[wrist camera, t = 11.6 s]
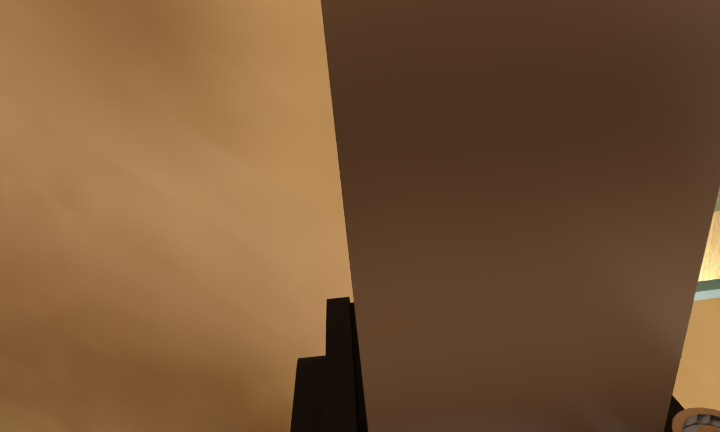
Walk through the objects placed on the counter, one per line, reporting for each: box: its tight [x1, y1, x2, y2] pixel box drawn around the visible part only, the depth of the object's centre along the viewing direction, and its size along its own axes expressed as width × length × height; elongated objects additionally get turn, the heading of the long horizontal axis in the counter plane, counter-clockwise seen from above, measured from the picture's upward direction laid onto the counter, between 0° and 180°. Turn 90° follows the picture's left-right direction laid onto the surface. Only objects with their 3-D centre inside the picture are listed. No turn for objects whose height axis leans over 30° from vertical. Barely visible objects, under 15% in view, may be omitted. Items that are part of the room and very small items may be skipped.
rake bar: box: [321, 0, 720, 432], centre depth 10 cm, size 22×4×6 cm, turn 5°
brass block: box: [698, 188, 720, 282], centre depth 26 cm, size 4×4×4 cm
